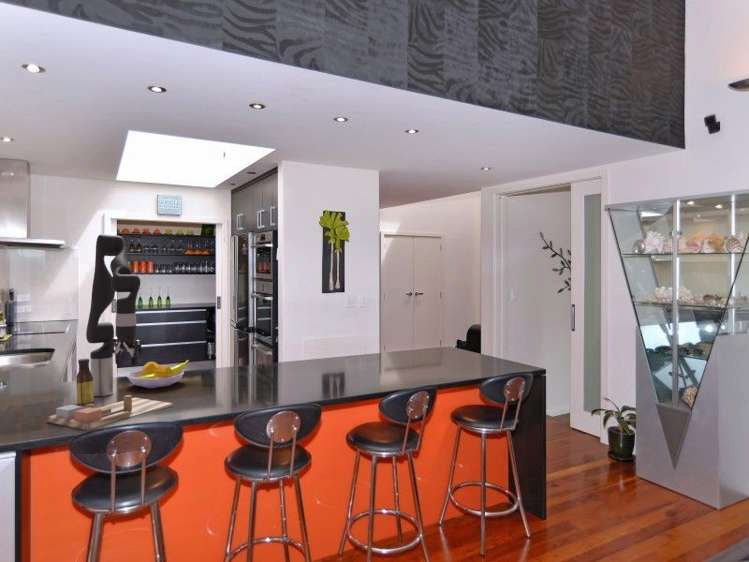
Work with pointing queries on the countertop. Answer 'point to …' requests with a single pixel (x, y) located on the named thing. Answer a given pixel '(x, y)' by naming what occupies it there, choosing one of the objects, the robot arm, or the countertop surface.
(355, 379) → the countertop surface
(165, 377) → the fruit bowl
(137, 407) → the wooden backboard
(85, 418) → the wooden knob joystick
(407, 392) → the countertop surface
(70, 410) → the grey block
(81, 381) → the sauce bottle
